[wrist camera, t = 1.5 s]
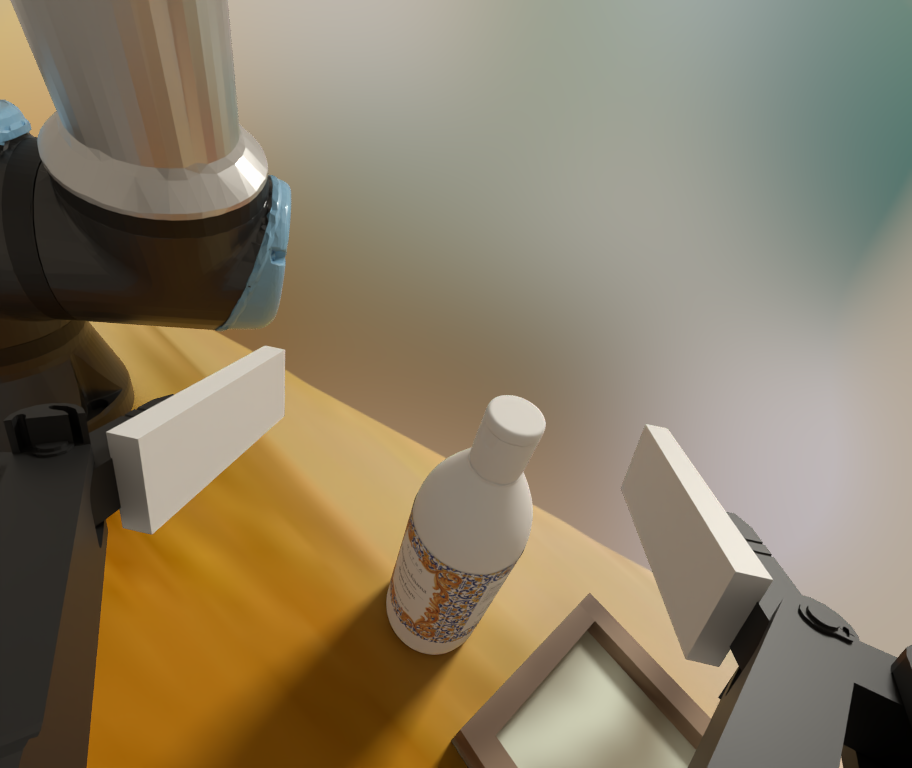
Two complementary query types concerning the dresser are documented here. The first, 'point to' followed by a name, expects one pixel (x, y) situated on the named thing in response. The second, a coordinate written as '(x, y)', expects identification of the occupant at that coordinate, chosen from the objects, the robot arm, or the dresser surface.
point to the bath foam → (466, 531)
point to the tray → (585, 705)
